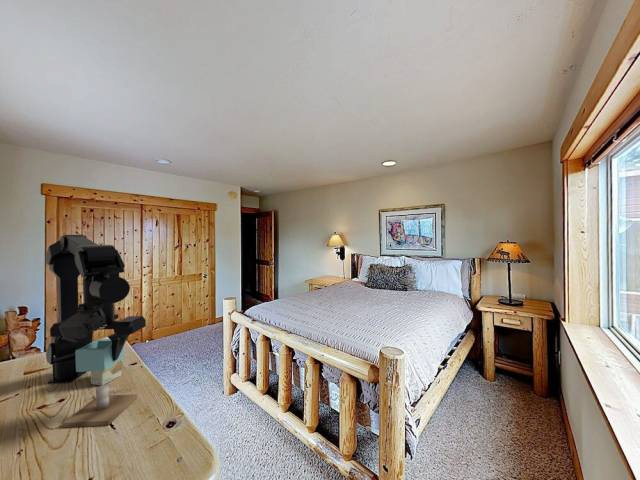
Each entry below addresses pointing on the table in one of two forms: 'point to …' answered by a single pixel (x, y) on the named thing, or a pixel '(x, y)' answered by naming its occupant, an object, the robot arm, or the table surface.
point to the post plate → (100, 415)
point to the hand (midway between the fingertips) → (101, 360)
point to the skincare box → (106, 373)
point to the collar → (96, 356)
